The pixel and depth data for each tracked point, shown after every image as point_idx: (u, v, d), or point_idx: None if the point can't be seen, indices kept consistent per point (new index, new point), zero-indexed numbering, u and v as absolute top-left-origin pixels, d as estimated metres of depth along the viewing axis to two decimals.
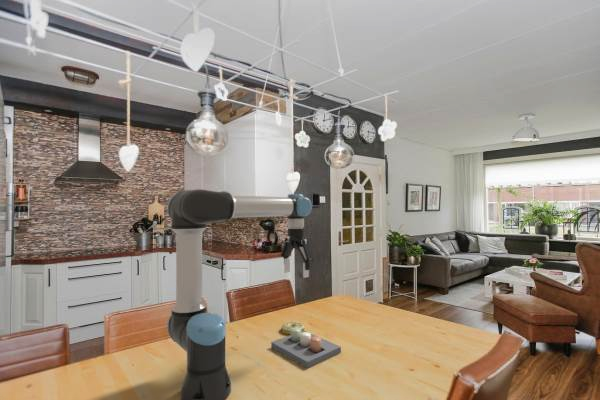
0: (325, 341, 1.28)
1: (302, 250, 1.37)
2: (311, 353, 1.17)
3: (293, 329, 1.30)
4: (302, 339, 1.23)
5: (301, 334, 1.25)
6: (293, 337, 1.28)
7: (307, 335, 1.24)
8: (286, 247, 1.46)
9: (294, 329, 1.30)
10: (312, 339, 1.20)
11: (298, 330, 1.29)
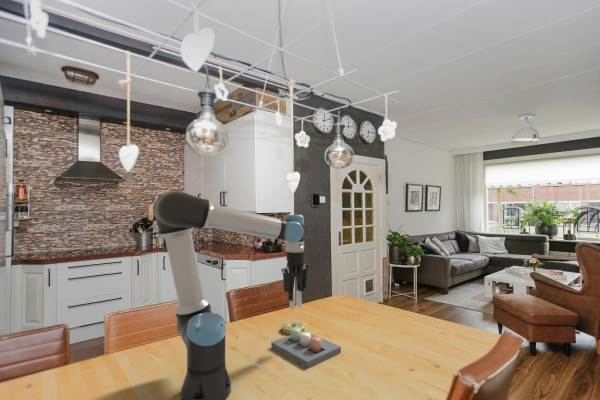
0: (325, 341, 1.28)
1: (290, 278, 1.29)
2: (311, 353, 1.17)
3: (293, 329, 1.30)
4: (302, 339, 1.23)
5: (301, 334, 1.25)
6: (293, 337, 1.28)
7: (307, 335, 1.24)
8: (302, 275, 1.33)
9: (294, 329, 1.30)
10: (312, 339, 1.20)
11: (298, 330, 1.29)
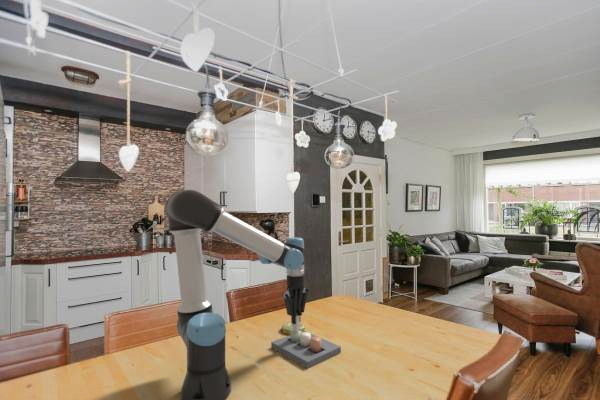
0: (325, 341, 1.28)
1: (291, 302, 1.29)
2: (311, 353, 1.17)
3: (293, 331, 1.30)
4: (302, 339, 1.23)
5: (301, 334, 1.25)
6: (293, 338, 1.28)
7: (307, 335, 1.24)
8: (301, 299, 1.32)
9: (294, 331, 1.30)
10: (312, 339, 1.20)
11: (298, 332, 1.29)
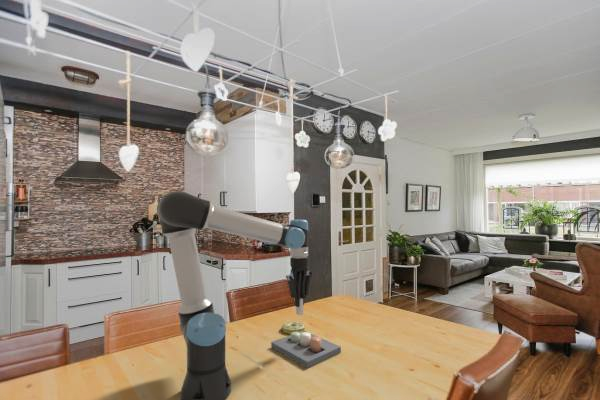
0: (325, 341, 1.28)
1: (295, 284, 1.27)
2: (311, 353, 1.17)
3: (293, 333, 1.30)
4: (302, 339, 1.23)
5: (301, 334, 1.25)
6: (293, 340, 1.28)
7: (307, 335, 1.24)
8: (305, 282, 1.31)
9: (294, 333, 1.30)
10: (312, 339, 1.20)
11: (298, 334, 1.29)
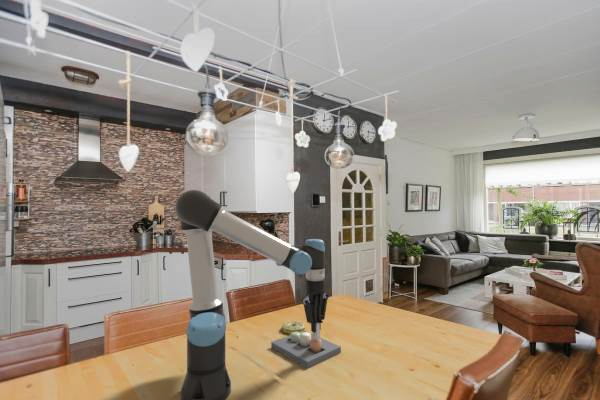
0: (325, 341, 1.28)
1: (311, 308, 1.20)
2: (311, 353, 1.17)
3: (293, 333, 1.30)
4: (302, 339, 1.23)
5: (301, 334, 1.25)
6: (293, 340, 1.28)
7: (307, 335, 1.24)
8: (321, 305, 1.23)
9: (294, 333, 1.30)
10: (312, 340, 1.20)
11: (298, 334, 1.29)
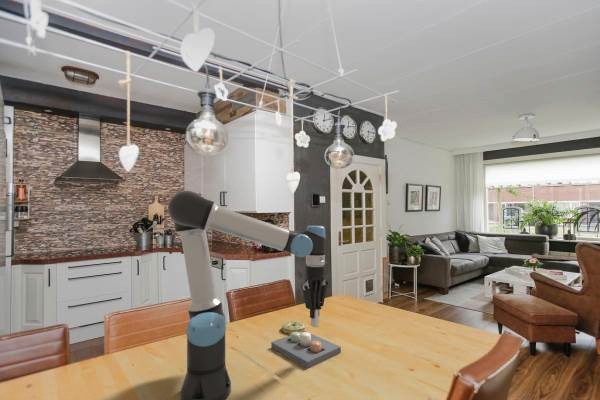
0: (325, 341, 1.28)
1: (310, 294, 1.20)
2: (311, 353, 1.17)
3: (293, 333, 1.30)
4: (302, 339, 1.23)
5: (301, 334, 1.25)
6: (293, 340, 1.28)
7: (307, 335, 1.24)
8: None
9: (294, 333, 1.30)
10: (312, 343, 1.20)
11: (298, 334, 1.29)
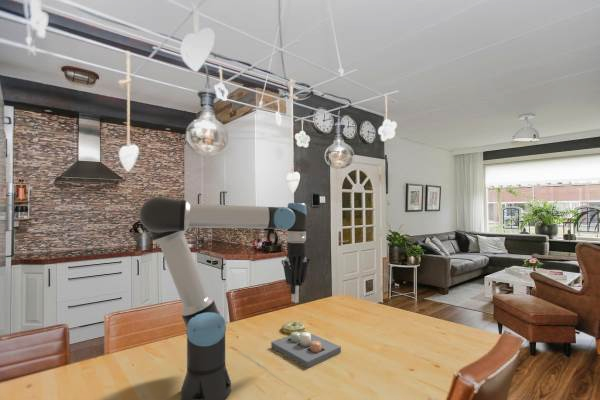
0: (325, 341, 1.28)
1: (291, 270, 1.21)
2: (311, 353, 1.17)
3: (293, 333, 1.30)
4: (302, 339, 1.23)
5: (301, 334, 1.25)
6: (293, 340, 1.28)
7: (307, 335, 1.24)
8: (302, 269, 1.25)
9: (294, 333, 1.30)
10: (312, 343, 1.20)
11: (298, 334, 1.29)
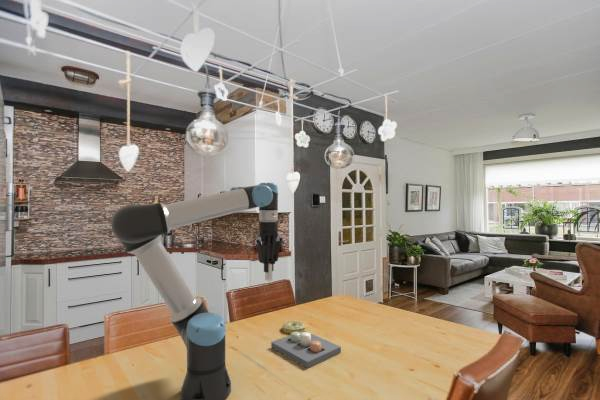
0: (325, 341, 1.28)
1: (264, 249, 1.23)
2: (311, 353, 1.17)
3: (293, 333, 1.30)
4: (302, 339, 1.23)
5: (301, 334, 1.25)
6: (293, 340, 1.28)
7: (307, 335, 1.24)
8: (275, 248, 1.27)
9: (294, 333, 1.30)
10: (312, 343, 1.20)
11: (298, 334, 1.29)
